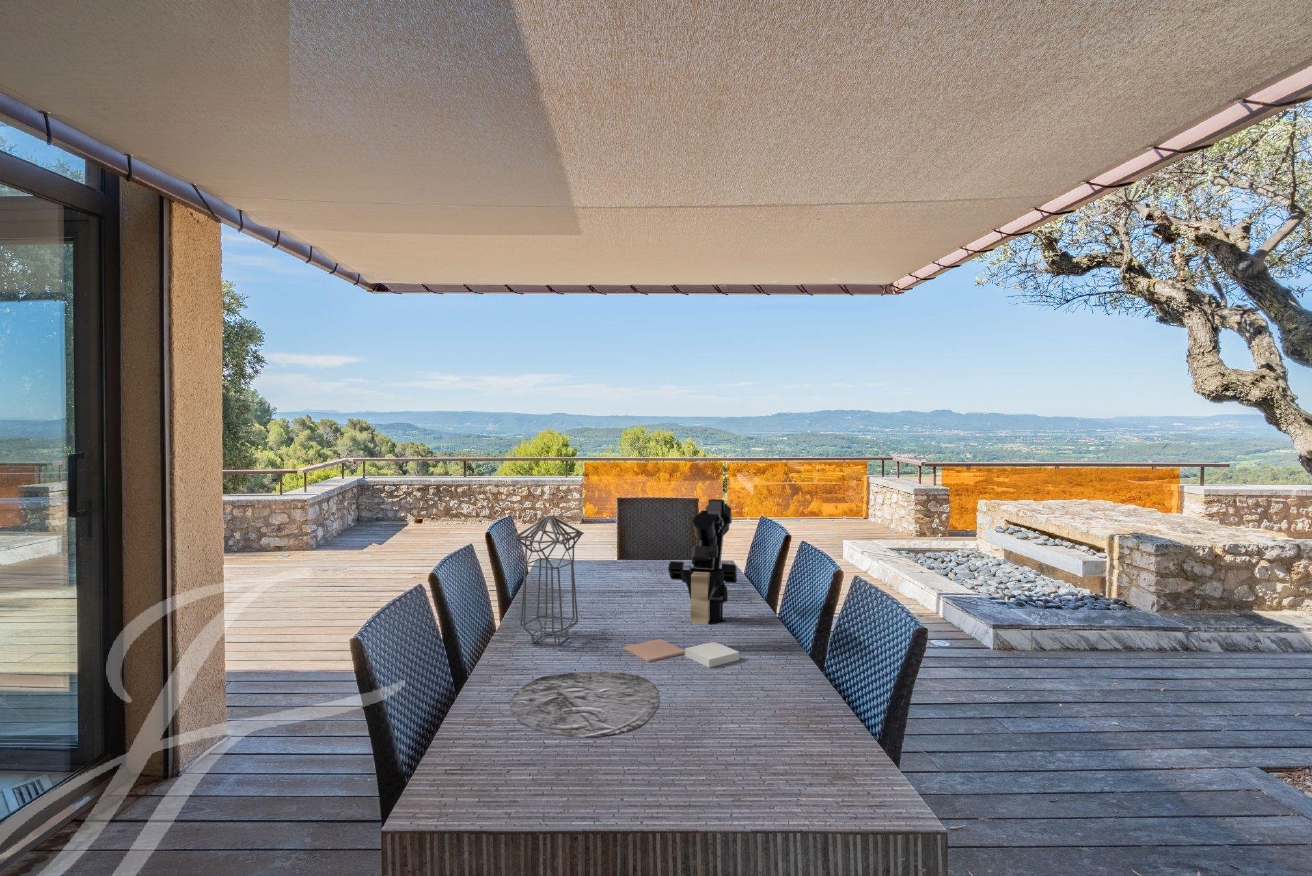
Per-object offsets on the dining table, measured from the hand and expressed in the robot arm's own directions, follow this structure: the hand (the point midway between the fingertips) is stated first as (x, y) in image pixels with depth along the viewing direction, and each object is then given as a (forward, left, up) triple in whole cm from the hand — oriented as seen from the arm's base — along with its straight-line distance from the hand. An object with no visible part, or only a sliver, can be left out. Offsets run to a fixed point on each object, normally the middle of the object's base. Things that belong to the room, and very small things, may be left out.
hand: (699, 598), depth 184 cm
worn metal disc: (+42, +14, -14) cm, 46 cm away
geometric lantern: (+31, -28, -14) cm, 44 cm away
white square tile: (+2, +8, -13) cm, 16 cm away
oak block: (-1, -1, -7) cm, 7 cm away
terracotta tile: (+11, -5, -13) cm, 18 cm away
